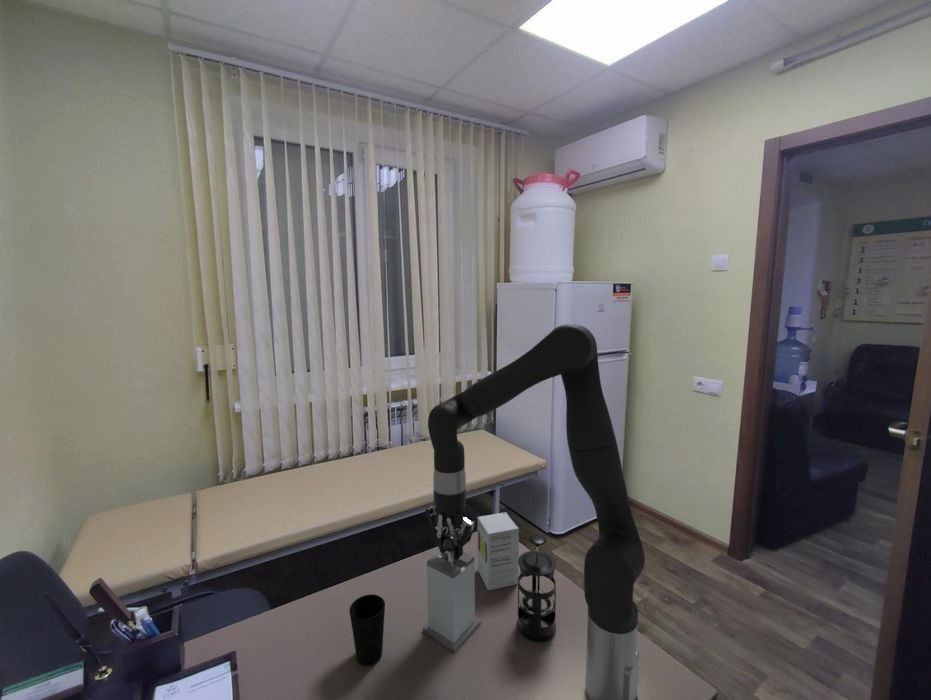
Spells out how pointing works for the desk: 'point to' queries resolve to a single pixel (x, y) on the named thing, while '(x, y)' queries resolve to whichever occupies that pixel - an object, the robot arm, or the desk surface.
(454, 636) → the slotted square pillar
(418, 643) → the desk surface
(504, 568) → the supplement box
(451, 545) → the plunger
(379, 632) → the cup
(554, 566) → the french press
